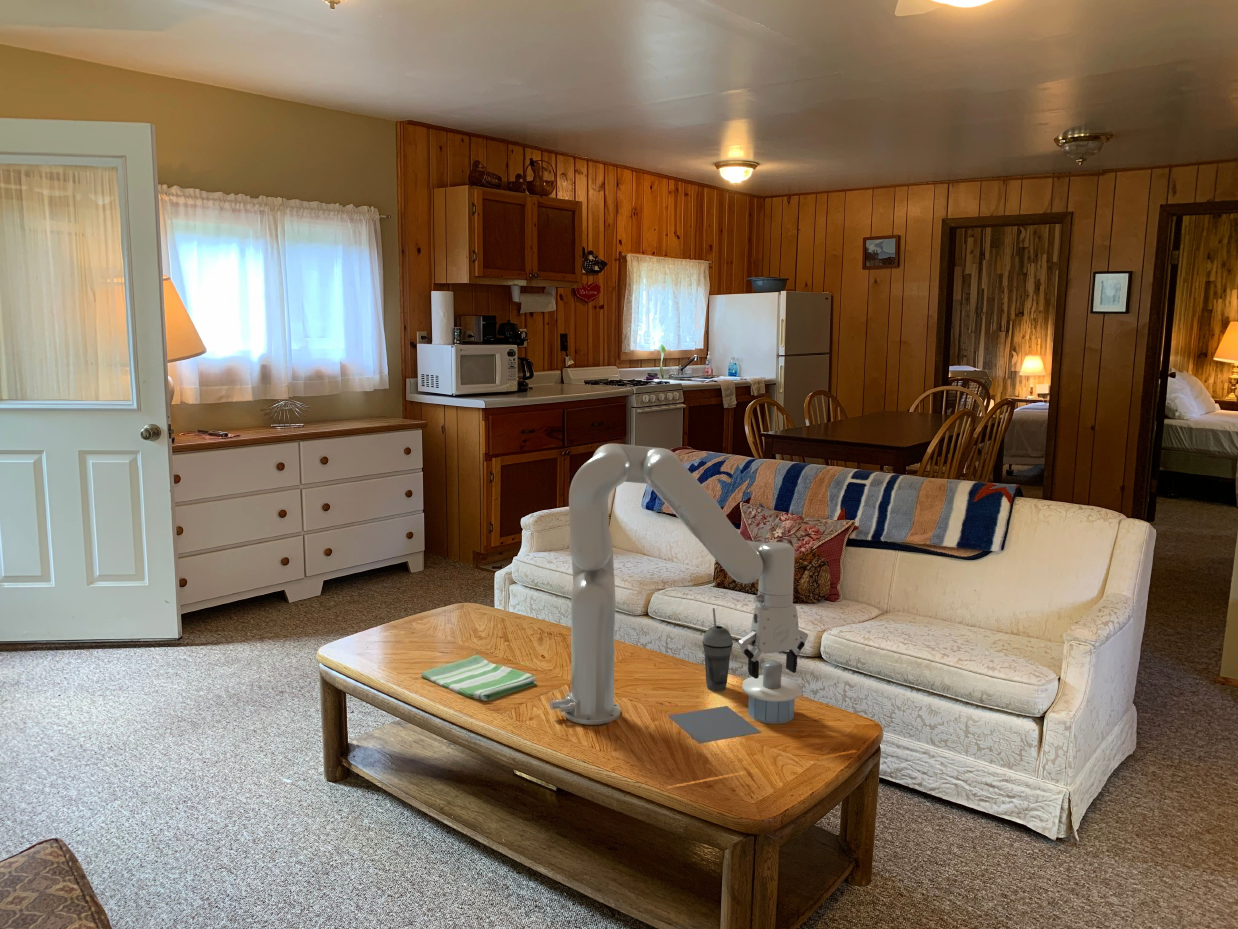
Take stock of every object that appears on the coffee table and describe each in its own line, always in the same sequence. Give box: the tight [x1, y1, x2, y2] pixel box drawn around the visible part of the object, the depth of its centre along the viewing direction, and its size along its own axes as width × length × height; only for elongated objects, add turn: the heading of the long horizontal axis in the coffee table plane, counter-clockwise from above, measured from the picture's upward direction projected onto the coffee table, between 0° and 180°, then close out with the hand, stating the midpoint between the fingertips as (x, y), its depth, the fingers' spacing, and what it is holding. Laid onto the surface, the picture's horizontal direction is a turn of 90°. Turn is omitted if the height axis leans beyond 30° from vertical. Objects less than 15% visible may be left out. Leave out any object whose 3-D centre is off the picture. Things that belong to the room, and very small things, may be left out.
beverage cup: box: [702, 607, 734, 692], centre depth 221 cm, size 7×7×20 cm
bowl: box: [747, 695, 796, 725], centre depth 207 cm, size 10×10×6 cm
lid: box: [741, 660, 802, 702], centre depth 206 cm, size 13×13×6 cm
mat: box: [667, 705, 762, 744], centre depth 202 cm, size 15×15×1 cm
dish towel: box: [420, 654, 537, 702], centre depth 226 cm, size 18×23×3 cm
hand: (772, 673), depth 206 cm, fingers open, 9 cm apart
